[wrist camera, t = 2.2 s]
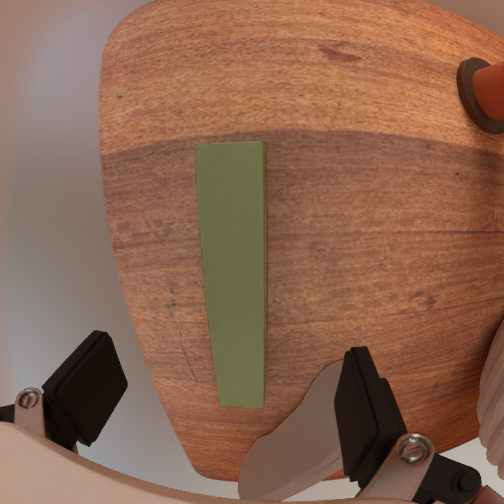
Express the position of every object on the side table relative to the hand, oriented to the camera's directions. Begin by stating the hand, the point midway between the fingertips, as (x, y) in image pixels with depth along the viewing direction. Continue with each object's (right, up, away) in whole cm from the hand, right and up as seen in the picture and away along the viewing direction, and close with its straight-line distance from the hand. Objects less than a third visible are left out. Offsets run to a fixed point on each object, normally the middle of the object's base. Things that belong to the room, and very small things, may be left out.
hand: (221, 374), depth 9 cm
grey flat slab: (+5, -10, +12) cm, 17 cm away
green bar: (+1, +3, +8) cm, 8 cm away
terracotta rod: (+18, +16, +2) cm, 24 cm away
